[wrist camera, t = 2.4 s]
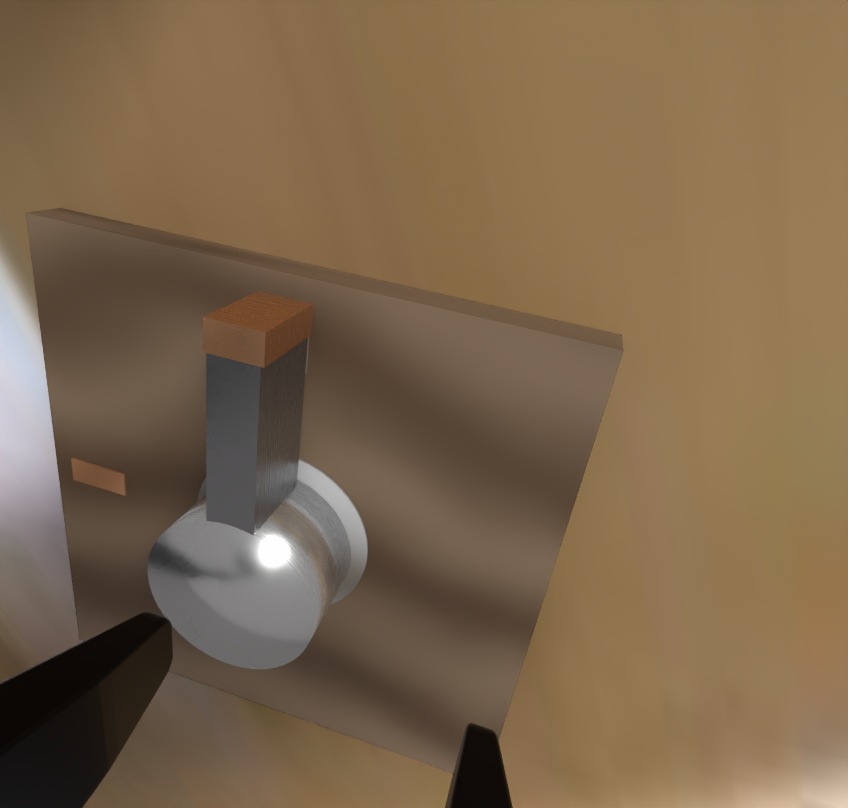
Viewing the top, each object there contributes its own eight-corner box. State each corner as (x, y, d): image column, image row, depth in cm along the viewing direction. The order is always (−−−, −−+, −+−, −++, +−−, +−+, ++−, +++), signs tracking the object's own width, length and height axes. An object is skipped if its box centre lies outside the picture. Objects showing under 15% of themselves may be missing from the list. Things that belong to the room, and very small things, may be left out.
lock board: (489, 753, 27) (483, 789, 26) (102, 617, 31) (76, 642, 29) (621, 335, 19) (623, 352, 17) (60, 208, 22) (20, 213, 20)
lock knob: (342, 622, 24) (306, 691, 21) (203, 577, 25) (151, 636, 22) (383, 316, 18) (341, 351, 15) (203, 274, 19) (132, 299, 16)
